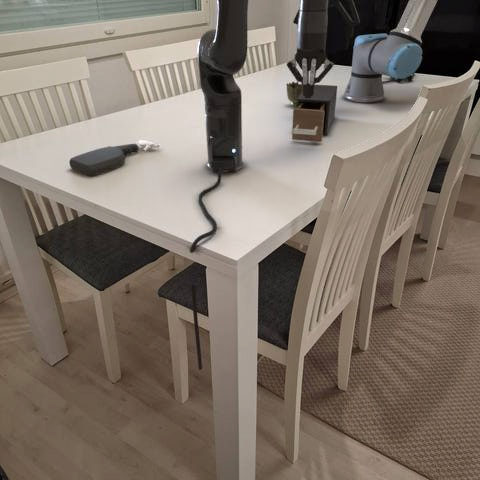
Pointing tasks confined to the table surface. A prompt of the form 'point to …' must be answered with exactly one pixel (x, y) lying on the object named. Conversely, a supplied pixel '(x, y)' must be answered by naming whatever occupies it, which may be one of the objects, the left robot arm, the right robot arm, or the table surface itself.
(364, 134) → the table surface
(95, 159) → the spray bottle
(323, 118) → the drawer
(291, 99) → the cup
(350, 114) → the table surface
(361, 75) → the right robot arm
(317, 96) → the cabinet
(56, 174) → the table surface
